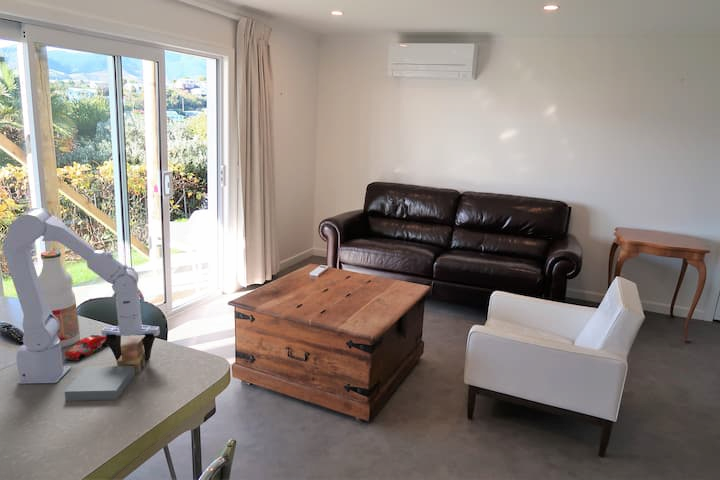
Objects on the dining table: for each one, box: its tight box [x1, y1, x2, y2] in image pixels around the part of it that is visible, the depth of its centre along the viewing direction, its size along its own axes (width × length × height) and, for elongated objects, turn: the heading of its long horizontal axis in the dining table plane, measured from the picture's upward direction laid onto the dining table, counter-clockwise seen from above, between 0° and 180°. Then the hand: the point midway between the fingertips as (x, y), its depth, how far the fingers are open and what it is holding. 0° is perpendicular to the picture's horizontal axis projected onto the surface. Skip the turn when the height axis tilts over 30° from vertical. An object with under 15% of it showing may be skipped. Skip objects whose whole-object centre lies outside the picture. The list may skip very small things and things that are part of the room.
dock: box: [64, 365, 136, 402], centre depth 124 cm, size 12×12×2 cm
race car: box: [64, 333, 108, 361], centre depth 142 cm, size 13×5×4 cm, turn 158°
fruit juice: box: [37, 250, 81, 349], centre depth 144 cm, size 9×9×28 cm
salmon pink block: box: [121, 337, 144, 358], centre depth 134 cm, size 4×5×4 cm
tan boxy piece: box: [116, 346, 147, 374], centre depth 135 cm, size 6×8×4 cm
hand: (133, 359), depth 135 cm, fingers open, 7 cm apart
